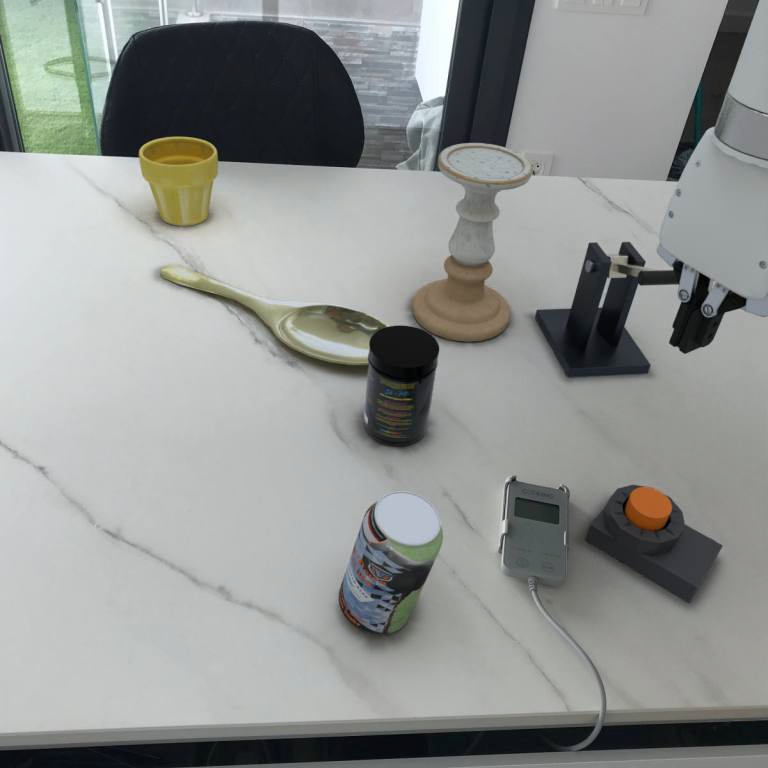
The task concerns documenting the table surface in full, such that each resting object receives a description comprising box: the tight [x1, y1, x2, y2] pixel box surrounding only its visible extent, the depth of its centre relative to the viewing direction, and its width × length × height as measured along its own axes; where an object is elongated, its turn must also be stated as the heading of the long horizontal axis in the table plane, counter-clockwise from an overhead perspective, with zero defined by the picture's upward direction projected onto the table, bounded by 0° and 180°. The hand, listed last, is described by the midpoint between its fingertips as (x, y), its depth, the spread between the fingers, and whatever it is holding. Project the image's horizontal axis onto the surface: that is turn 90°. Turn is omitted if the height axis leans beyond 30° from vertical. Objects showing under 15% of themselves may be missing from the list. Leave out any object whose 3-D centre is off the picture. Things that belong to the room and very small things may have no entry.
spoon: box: [160, 264, 391, 366], centre depth 93 cm, size 35×11×2 cm, turn 59°
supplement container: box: [363, 324, 440, 447], centre depth 77 cm, size 7×7×10 cm
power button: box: [625, 486, 672, 531], centre depth 68 cm, size 4×4×2 cm
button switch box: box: [584, 484, 723, 603], centre depth 69 cm, size 10×6×4 cm, turn 51°
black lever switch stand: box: [534, 241, 651, 378], centre depth 90 cm, size 12×10×13 cm
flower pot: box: [138, 136, 219, 227], centre depth 108 cm, size 10×10×10 cm
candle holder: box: [411, 142, 534, 343], centre depth 91 cm, size 12×12×20 cm
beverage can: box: [338, 490, 444, 636], centre depth 59 cm, size 6×7×12 cm
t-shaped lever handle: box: [605, 253, 679, 287], centre depth 82 cm, size 13×5×2 cm, turn 9°
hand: (687, 344), depth 64 cm, fingers closed
